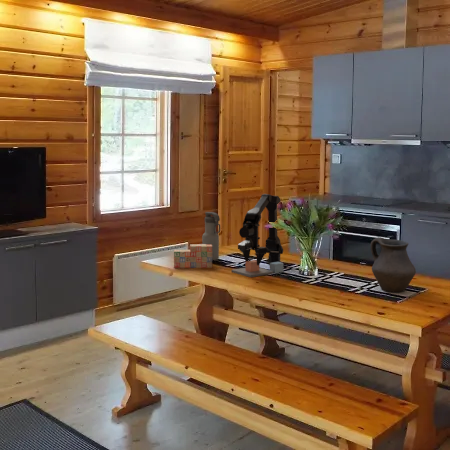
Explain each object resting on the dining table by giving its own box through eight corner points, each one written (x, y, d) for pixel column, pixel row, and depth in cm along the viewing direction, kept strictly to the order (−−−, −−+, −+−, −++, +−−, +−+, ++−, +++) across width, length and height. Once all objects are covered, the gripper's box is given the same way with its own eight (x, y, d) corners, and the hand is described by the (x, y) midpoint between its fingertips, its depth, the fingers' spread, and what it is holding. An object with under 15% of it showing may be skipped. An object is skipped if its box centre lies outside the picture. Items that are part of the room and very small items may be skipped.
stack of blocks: (174, 268, 356) (173, 246, 355) (174, 265, 362) (173, 244, 361) (212, 267, 358) (212, 245, 356) (211, 265, 364) (211, 244, 362)
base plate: (254, 268, 356) (254, 266, 356) (273, 273, 343) (273, 271, 343) (231, 272, 346) (231, 269, 346) (250, 277, 334) (250, 275, 333)
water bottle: (222, 258, 382) (222, 212, 378) (213, 261, 374) (213, 214, 370) (208, 257, 388) (208, 211, 384) (199, 259, 379) (199, 212, 375)
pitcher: (407, 297, 294) (409, 244, 291) (361, 291, 306) (363, 239, 302) (419, 288, 311) (422, 238, 308) (376, 282, 323) (378, 234, 319)
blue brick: (277, 270, 351) (277, 261, 350) (283, 272, 347) (283, 263, 347) (269, 272, 347) (269, 263, 347) (275, 273, 344) (275, 264, 343)
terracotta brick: (253, 269, 348) (254, 260, 347) (259, 270, 345) (259, 261, 344) (245, 270, 344) (245, 261, 344) (250, 271, 341) (250, 262, 340)
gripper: (230, 234, 344) (229, 262, 346) (252, 239, 330) (252, 268, 332) (246, 232, 351) (245, 260, 353) (268, 237, 336) (268, 266, 339)
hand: (252, 264), depth 344 cm, fingers open, 9 cm apart
